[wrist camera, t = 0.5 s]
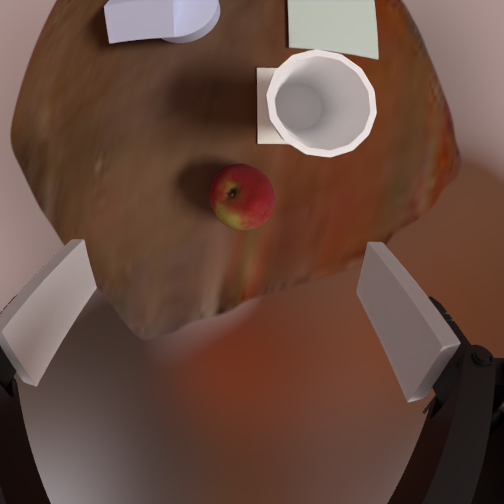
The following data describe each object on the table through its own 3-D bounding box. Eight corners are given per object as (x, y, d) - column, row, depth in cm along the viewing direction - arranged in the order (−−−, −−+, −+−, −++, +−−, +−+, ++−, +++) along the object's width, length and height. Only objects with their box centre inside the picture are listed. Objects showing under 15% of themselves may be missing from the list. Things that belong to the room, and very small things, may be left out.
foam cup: (255, 74, 30) (259, 53, 18) (328, 69, 30) (368, 50, 18) (266, 146, 34) (276, 163, 23) (337, 139, 34) (379, 154, 22)
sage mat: (286, -25, 23) (286, -26, 23) (371, -11, 23) (372, -12, 23) (289, 47, 29) (289, 47, 28) (377, 59, 29) (378, 59, 28)
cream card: (256, 68, 30) (257, 67, 30) (335, 73, 30) (336, 72, 30) (257, 143, 34) (257, 143, 34) (334, 145, 34) (335, 146, 34)
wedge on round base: (120, 47, 27) (215, 43, 28) (97, 38, 21) (208, 29, 22) (130, -6, 23) (224, -13, 24) (111, -23, 17) (220, -35, 18)
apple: (270, 157, 35) (276, 168, 28) (272, 216, 39) (278, 240, 32) (211, 160, 35) (201, 173, 28) (216, 219, 39) (209, 244, 32)
